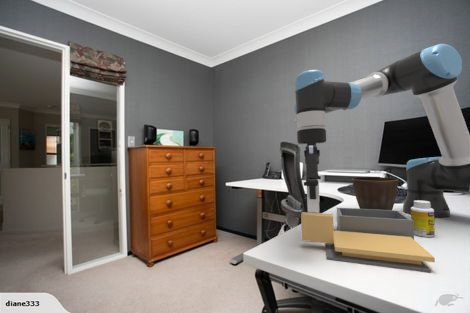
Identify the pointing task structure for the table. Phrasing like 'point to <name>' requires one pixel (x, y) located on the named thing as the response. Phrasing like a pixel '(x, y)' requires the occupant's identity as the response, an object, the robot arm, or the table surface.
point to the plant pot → (375, 192)
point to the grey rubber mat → (372, 260)
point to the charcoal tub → (375, 222)
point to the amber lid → (362, 241)
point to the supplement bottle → (423, 218)
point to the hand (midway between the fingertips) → (314, 206)
